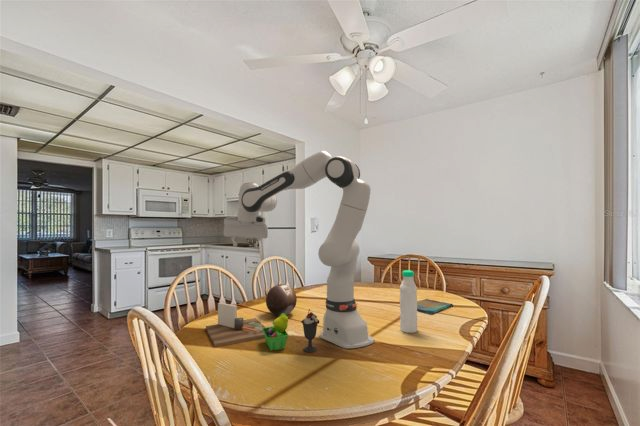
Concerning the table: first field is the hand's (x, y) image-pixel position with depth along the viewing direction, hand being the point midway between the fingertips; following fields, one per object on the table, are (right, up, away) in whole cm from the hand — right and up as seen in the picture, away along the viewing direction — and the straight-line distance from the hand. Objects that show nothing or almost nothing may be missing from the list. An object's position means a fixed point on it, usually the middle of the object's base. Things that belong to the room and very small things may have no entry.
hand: (245, 247), depth 143 cm
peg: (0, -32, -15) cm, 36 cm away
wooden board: (+1, -34, -16) cm, 37 cm away
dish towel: (+93, -35, +21) cm, 101 cm away
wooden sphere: (+16, -35, +7) cm, 39 cm away
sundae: (+31, -33, -33) cm, 57 cm away
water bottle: (+72, -34, -14) cm, 81 cm away
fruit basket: (+19, -34, -29) cm, 48 cm away
